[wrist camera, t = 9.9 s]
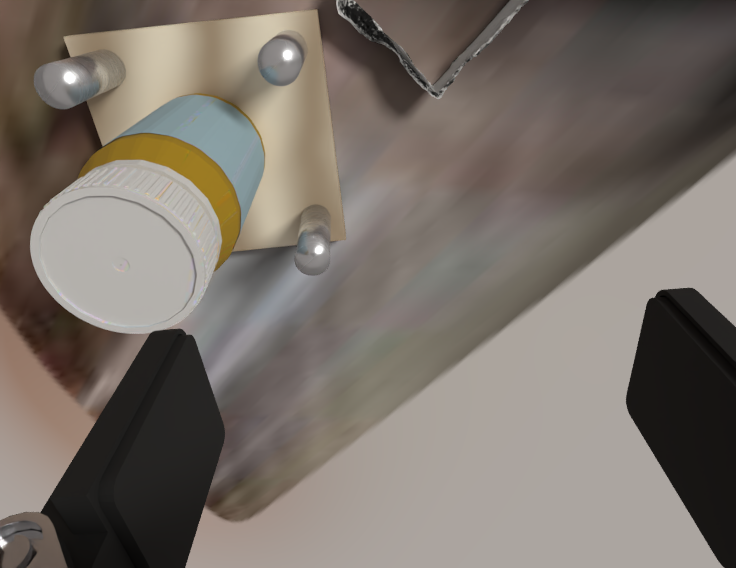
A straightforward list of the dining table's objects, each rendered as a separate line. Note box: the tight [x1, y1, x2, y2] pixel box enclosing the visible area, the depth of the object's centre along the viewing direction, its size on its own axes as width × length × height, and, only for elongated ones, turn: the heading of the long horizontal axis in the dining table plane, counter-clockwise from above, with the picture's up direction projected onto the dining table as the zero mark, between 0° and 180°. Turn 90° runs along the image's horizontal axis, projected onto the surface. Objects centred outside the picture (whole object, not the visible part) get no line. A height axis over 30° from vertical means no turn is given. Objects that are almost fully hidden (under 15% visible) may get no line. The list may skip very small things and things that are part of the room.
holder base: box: [64, 9, 346, 252], centre depth 32 cm, size 14×14×1 cm
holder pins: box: [34, 30, 331, 276], centre depth 29 cm, size 12×12×6 cm
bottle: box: [30, 93, 265, 334], centre depth 25 cm, size 7×7×15 cm
